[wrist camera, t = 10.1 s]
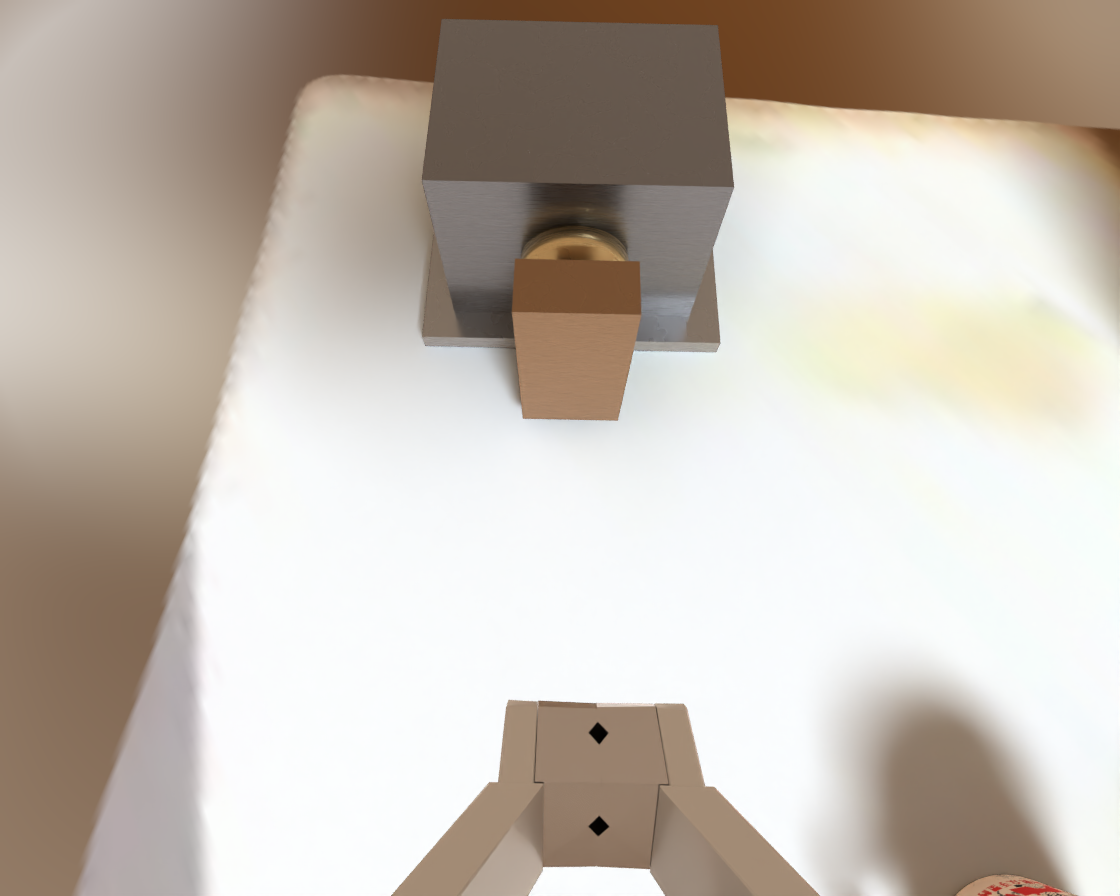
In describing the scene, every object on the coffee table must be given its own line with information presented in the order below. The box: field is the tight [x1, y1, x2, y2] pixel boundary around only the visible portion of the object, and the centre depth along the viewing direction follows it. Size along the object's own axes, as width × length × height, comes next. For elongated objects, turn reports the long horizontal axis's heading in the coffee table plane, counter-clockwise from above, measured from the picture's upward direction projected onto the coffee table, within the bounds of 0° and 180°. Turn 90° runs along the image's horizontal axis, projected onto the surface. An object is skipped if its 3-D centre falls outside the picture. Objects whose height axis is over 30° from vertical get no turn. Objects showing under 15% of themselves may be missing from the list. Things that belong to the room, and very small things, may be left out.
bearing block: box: [422, 19, 734, 352], centre depth 42 cm, size 18×20×13 cm
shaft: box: [512, 226, 641, 421], centre depth 40 cm, size 21×6×12 cm, turn 179°
